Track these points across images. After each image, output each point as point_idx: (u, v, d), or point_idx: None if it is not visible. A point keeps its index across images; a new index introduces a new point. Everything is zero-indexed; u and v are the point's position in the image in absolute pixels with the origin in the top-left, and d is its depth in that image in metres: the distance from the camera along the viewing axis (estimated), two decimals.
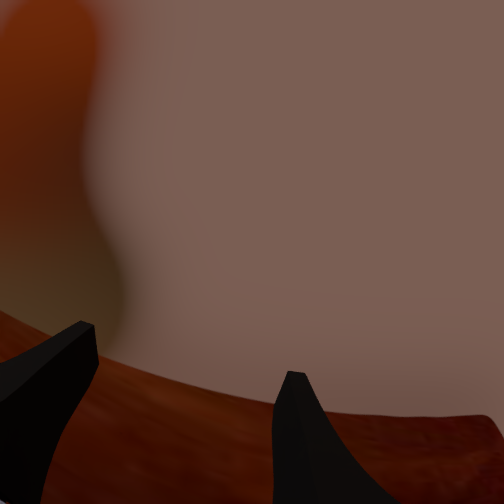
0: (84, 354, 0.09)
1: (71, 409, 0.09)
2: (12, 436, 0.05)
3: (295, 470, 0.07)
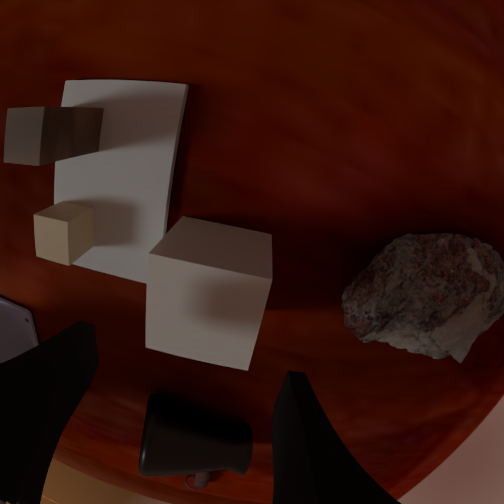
0: (84, 354, 0.09)
1: (71, 409, 0.09)
2: (12, 436, 0.05)
3: (295, 470, 0.07)
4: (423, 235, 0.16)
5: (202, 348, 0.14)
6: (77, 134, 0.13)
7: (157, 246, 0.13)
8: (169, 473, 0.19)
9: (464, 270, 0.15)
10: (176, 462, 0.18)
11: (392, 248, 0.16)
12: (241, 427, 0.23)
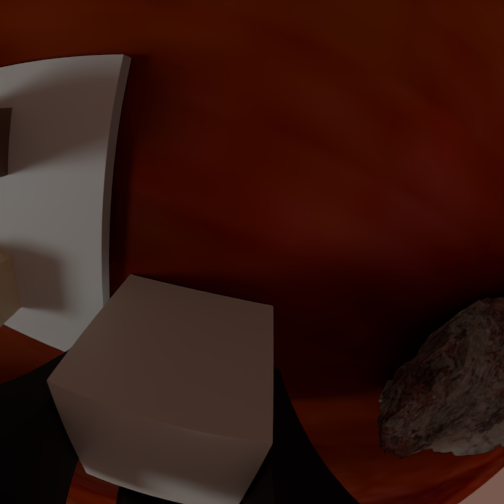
0: None
1: None
2: (39, 451, 0.05)
3: (260, 467, 0.07)
4: (497, 303, 0.09)
5: (163, 491, 0.07)
6: None
7: (66, 360, 0.06)
8: None
9: None
10: None
11: (460, 332, 0.09)
12: None
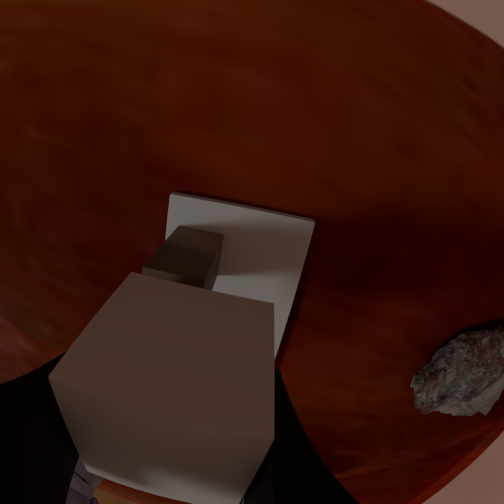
0: None
1: None
2: (39, 451, 0.05)
3: (260, 467, 0.07)
4: (472, 335, 0.18)
5: (164, 489, 0.07)
6: (212, 277, 0.15)
7: (67, 356, 0.06)
8: None
9: (497, 358, 0.17)
10: None
11: (451, 351, 0.18)
12: None
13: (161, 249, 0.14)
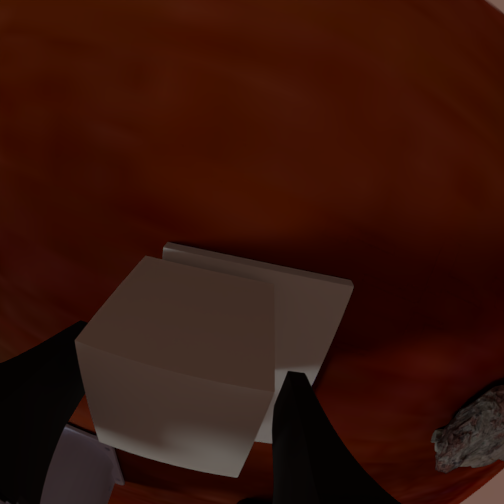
0: None
1: (71, 409, 0.09)
2: (12, 436, 0.05)
3: (295, 470, 0.07)
4: (500, 391, 0.14)
5: (173, 455, 0.09)
6: None
7: (91, 323, 0.08)
8: None
9: None
10: None
11: (479, 412, 0.14)
12: None
13: None
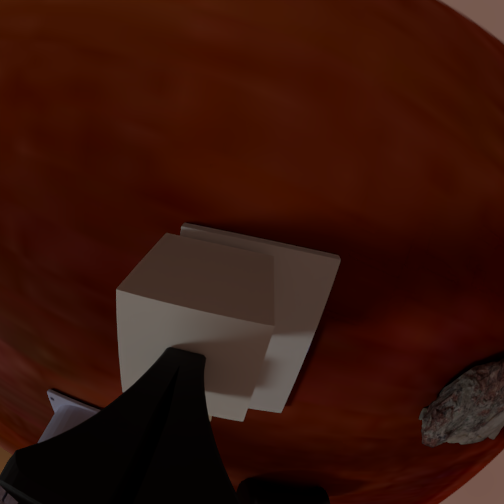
0: None
1: None
2: (132, 491, 0.05)
3: None
4: (480, 369, 0.17)
5: None
6: None
7: (128, 278, 0.10)
8: None
9: None
10: None
11: (459, 388, 0.17)
12: (319, 493, 0.24)
13: None
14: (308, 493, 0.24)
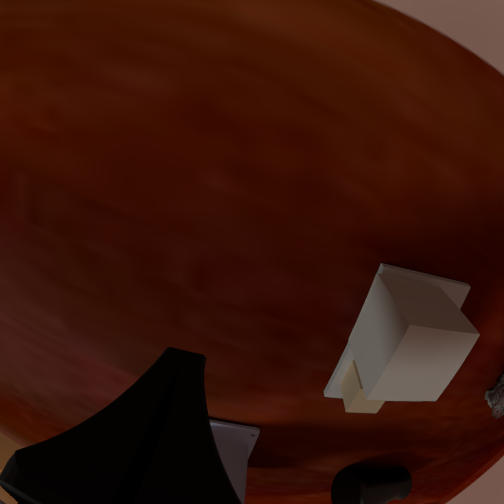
0: None
1: None
2: (132, 491, 0.05)
3: None
4: None
5: (414, 391, 0.15)
6: None
7: (405, 315, 0.14)
8: None
9: None
10: None
11: None
12: (401, 471, 0.28)
13: None
14: (393, 472, 0.28)
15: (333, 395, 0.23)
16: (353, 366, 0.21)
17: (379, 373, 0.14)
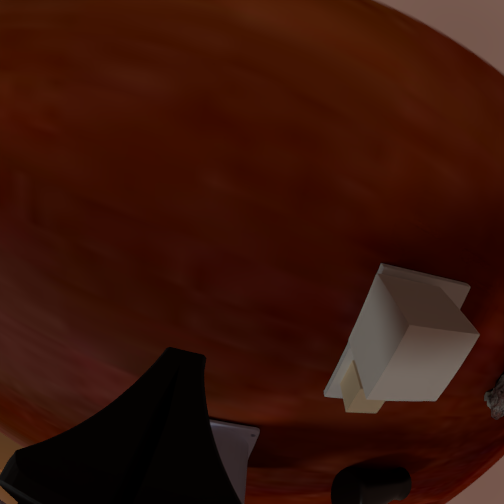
0: None
1: None
2: (132, 491, 0.05)
3: None
4: None
5: (414, 391, 0.15)
6: None
7: (405, 315, 0.14)
8: None
9: None
10: None
11: None
12: (401, 471, 0.28)
13: None
14: (393, 473, 0.28)
15: (333, 395, 0.23)
16: (353, 366, 0.21)
17: (379, 373, 0.14)
